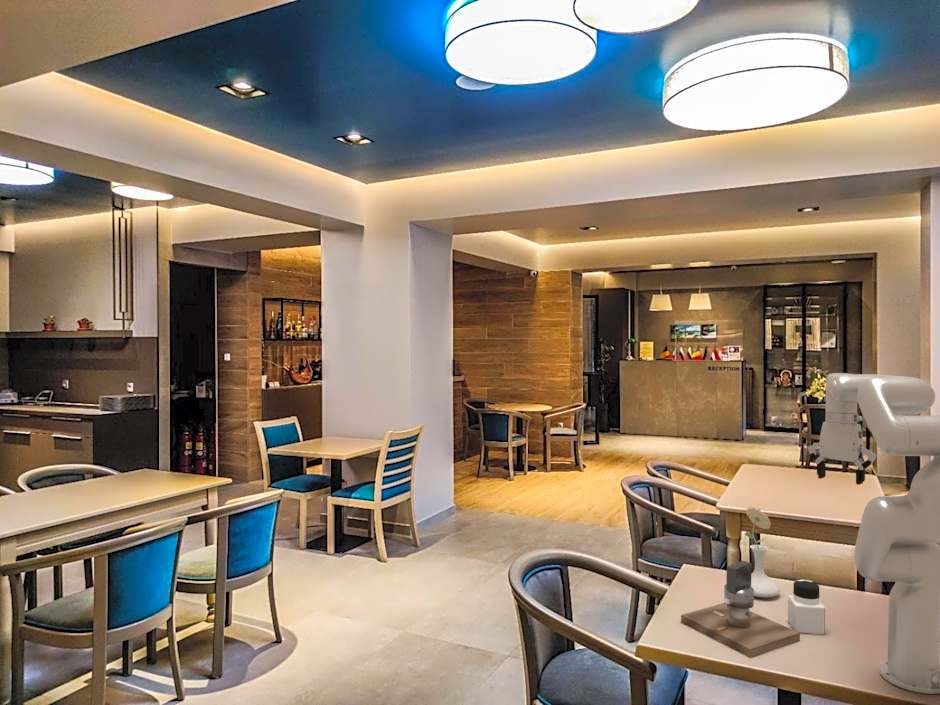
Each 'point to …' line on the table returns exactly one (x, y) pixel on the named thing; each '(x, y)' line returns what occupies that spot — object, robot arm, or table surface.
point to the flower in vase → (760, 557)
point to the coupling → (739, 586)
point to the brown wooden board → (740, 629)
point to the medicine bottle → (806, 608)
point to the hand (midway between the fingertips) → (840, 480)
